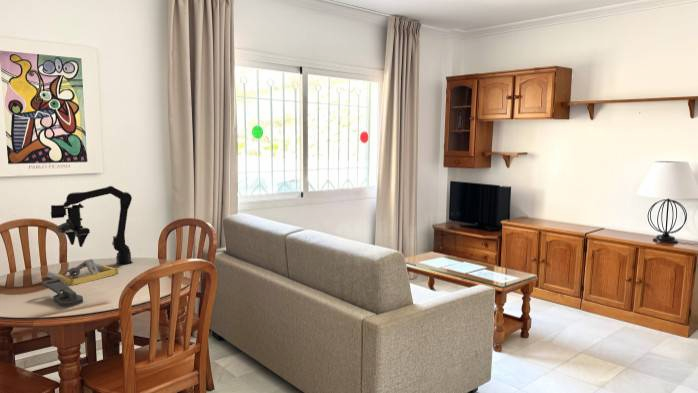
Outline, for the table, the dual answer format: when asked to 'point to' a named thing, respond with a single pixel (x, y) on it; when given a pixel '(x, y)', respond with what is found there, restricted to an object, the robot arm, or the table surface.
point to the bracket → (83, 265)
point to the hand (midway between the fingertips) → (76, 245)
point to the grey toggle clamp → (63, 293)
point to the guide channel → (108, 272)
